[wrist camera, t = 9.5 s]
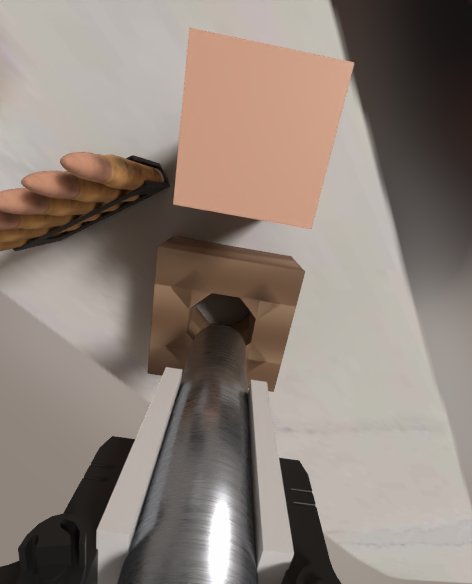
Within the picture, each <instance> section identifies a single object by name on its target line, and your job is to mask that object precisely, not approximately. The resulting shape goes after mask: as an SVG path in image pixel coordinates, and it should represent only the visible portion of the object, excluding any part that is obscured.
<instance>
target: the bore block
mask: <svg viewBox="0 0 472 584" xmlns="http://www.w3.org/2000/svg"><path fill="white" fill-rule="evenodd" d="M304 274H305V271H304V270H303V269H302V268H301V267H300V266H299V264H298V263H297V262H296V261H295V260H294V259H293V258H292V257H291V256H285V255H279V254H274V253H268V252H262V251H256V250H250V249H245V248H239V247H233V246H227V245H221V244H216V243H210V242H204V241H198V240H192V239H187V238H181V237H175V236H174V237H172V238H171V239H169V240H167V241H166V242H164V243H163V244H161V245H159V246H158V247H157V260H156V273H155V285H154V298H153V311H152V324H151V336H150V349H149V362H148V374H155V375H163V373H164V371H165V368H166V367H169V368H176V369H182V375H183V372H184V368H185V365H186V362H187V359H188V356H189V353H190V349H191V346H192V343H193V340H194V338H195V336H196V335H197V333H198V332H199V331H201V330H202V329H204V328H205V327H208V326H211V325H216V324H210V323H209V322H208V321H207V320H206V319H205V317H204V316H203V315H202V314H201V312H200V311H199V310H198V309H197V307H196V305H197V303H198V302H200V301H201V300H203V299H204V298H206V297H207V296H209V295H210V294H212V293H215V294H221V295H227V296H233V297H239V298H241V299H242V301H243V302H244V303H245V305H246V306H247V307H248V309H249V315H248V316H247V317H245V318H244V319H242V320H241V321H239V322H237V323H236V324H234V325H233V326H231V328H233V329H235V330H236V331H237V332H239V334H240V335H241V336H242V337H243V339H244V342H245V346H246V363H247V382H248V388H249V386H250V381H251V380H256V381H263V382H267V386H268V391H272V392H274V388H275V385H276V381H277V377H278V373H279V369H280V366H281V362H282V358H283V354H284V350H285V346H286V343H287V339H288V335H289V331H290V327H291V324H292V320H293V316H294V312H295V308H296V305H297V301H298V297H299V293H300V289H301V285H302V282H303V278H304ZM181 378H182V377H181Z"/></svg>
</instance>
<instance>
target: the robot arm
mask: <svg viewBox="0 0 472 584" xmlns="http://www.w3.org/2000/svg"><path fill="white" fill-rule="evenodd" d="M181 377H182V369H176V368H169V367H166V368H165V371H164V373H163V375H162V378H161V380H160V382H159V385H158V387H157V389H156V392H155V394H154V396H153V399H152V401H151V403H150V406H149V408H148V411H147V413H146V415H145V418H144V420H143V422H142V425H141V427H140V429H139V432H138V434H137V437H136V439H128V438H122V437H114V436H112V437H111V438H110V439H109V440H108V441H107V442H105V443H104V444H103V445H102V446H101V447H100V448H99V450H98V452H97V453H96V455H95V457H94V459H93V461H92V462H91V465H90V466H89V468H88V470H87V472H86V473H85V475H84V478H83V479H82V481H81V482H80V484H79V486H78V488H77V490H76V491H75V493H74V495H73V497H72V499H71V500H70V502H69V504H68V506H67V508H66V510H65V512H64V513H63V514H60V515H56V516H52V517H50V518H48V519H46V520H45V521H43V522H41V523H39V524H38V525H37V526H36V527H35V528H34V529H33V530H32V531H31V532H30V533H29V534H27V536H26V537H25V539H24V540H23V542H22V543H21V545H20V546H19V548H18V552H19V560H20V561H17V562H15V563H12V564H9V565H6V566H2V567H0V584H117V582H118V579H119V576H120V573H121V569H122V566H123V564H124V561H125V559H126V558H127V556H128V553H129V550H130V547H131V543H132V540H133V537H134V534H135V530H136V527H137V524H138V521H139V517H140V514H141V511H142V508H143V504H144V501H145V498H146V495H147V491H148V488H149V485H150V482H151V478H152V475H153V472H154V469H155V465H156V462H157V459H158V456H159V452H160V449H161V446H162V443H163V439H164V436H165V433H166V430H167V426H168V423H169V420H170V417H171V413H172V410H173V407H174V404H175V400H176V397H177V394H178V391H179V387H180V384H181ZM248 408H249V428H250V447H251V467H252V486H253V506H254V525H255V545H256V564H257V574H258V584H341V583H340V581H339V579H338V578H337V576H336V574H335V573H334V570H333V568H332V565H331V562H330V559H329V555H328V551H327V547H326V544H325V540H324V535H323V532H322V528H321V524H320V520H319V516H318V512H317V508H316V507H315V500H314V496H313V494H312V488H311V484H310V481H309V477H308V474H307V472H306V471H305V469H304V468H303V466H302V464H301V463H300V461H298V460H291V459H284V458H279V455H278V449H277V443H276V437H275V430H274V424H273V418H272V411H271V405H270V399H269V393H268V386H267V382H263V381H256V380H251V381H250V386H249V390H248Z"/></svg>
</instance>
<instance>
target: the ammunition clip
mask: <svg viewBox="0 0 472 584" xmlns="http://www.w3.org/2000/svg"><path fill="white" fill-rule="evenodd" d="M60 163H61V165H62V166H63V167H64V168H65V169H66V170H67V171H64V172H62V171H42V172H37V173H33V174H30V175H28V176H26V177H24V178H23V179H22V181H21V183H22V185H23V186H24V187H26V188H19V189H10V190H5V191H1V192H0V251H3V250H8V249H12V248H13V249H14V251H18V250H22V249H27V248H31V247H35V246H39V245H43V244H47V243H52V242H56V241H60V240H62V239H64V238H66V237H68V236H70V235H72V234H74V233H77V232H79V231H81V230H83V229H85V228H87V227H89V226H91V225H93V224H95V223H97V222H99V221H101V220H103V219H105V218H107V217H109V216H111V215H113V214H115V213H117V212H119V211H121V210H124V209H126V208H128V207H130V206H132V205H134V204H136V203H138V202H140V201H142V200H144V199H146V198H148V197H150V196H152V195H154V194H156V193H158V192H160V191H162V190H164V189H166V188H168V187H170V184H169V182H168V180H167V178H166V176H165V174H164V172H163V170H162V168H161V166H160V164H159V163H156V162H153V161H150V160H146V159H143V158H140V157H137V156H133V155H132V156H130V157H128V158H126V159H125V158H121V157H118V156H115V155H99V154H93V153H87V152H77V153H70V154H67V155H65V156H63V157H62V158H61V160H60Z"/></svg>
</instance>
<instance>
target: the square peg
mask: <svg viewBox="0 0 472 584" xmlns="http://www.w3.org/2000/svg"><path fill="white" fill-rule="evenodd" d="M353 65H354V63H353V62H349V61H344V60H339V59H335V58H330V57H325V56H320V55H316V54H311V53H306V52H302V51H297V50H292V49H287V48H283V47H278V46H273V45H269V44H264V43H259V42H255V41H250V40H245V39H240V38H236V37H231V36H226V35H222V34H217V33H212V32H207V31H203V30H198V29H193V28H189V38H188V49H187V60H186V71H185V82H184V92H183V103H182V114H181V125H180V136H179V146H178V157H177V168H176V179H175V189H174V200H173V205H179V206H185V207H190V208H196V209H201V210H207V211H213V212H218V213H224V214H229V215H235V216H241V217H246V218H252V219H257V220H263V221H269V222H274V223H280V224H285V225H291V226H297V227H302V228H308V229H312V225H313V221H314V217H315V213H316V210H317V206H318V202H319V198H320V194H321V190H322V186H323V182H324V178H325V174H326V171H327V167H328V163H329V159H330V155H331V151H332V147H333V143H334V139H335V136H336V132H337V128H338V124H339V120H340V116H341V112H342V108H343V104H344V100H345V97H346V93H347V89H348V85H349V81H350V77H351V73H352V69H353Z"/></svg>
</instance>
